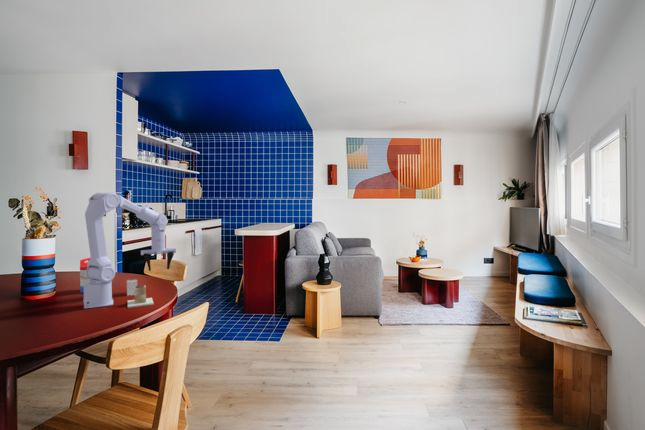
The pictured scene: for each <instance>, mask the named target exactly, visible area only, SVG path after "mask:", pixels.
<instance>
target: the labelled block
mask: <svg viewBox="0 0 645 430" xmlns="http://www.w3.org/2000/svg"><path fill="white" fill-rule="evenodd" d="M134 293H135V295H134V300H135V304H136V303H144V302H146V298H147V287H146V284H145V285H144V284H141V285H137V286H134Z"/></svg>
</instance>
